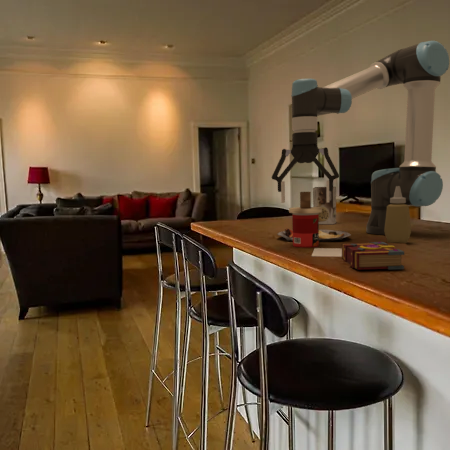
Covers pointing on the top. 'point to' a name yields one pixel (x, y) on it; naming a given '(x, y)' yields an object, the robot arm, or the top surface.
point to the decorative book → (372, 256)
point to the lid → (305, 205)
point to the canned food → (305, 230)
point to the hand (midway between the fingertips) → (305, 202)
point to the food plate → (323, 235)
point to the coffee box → (325, 204)
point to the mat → (327, 252)
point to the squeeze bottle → (397, 219)
